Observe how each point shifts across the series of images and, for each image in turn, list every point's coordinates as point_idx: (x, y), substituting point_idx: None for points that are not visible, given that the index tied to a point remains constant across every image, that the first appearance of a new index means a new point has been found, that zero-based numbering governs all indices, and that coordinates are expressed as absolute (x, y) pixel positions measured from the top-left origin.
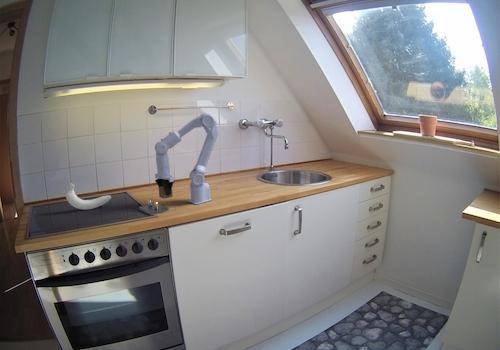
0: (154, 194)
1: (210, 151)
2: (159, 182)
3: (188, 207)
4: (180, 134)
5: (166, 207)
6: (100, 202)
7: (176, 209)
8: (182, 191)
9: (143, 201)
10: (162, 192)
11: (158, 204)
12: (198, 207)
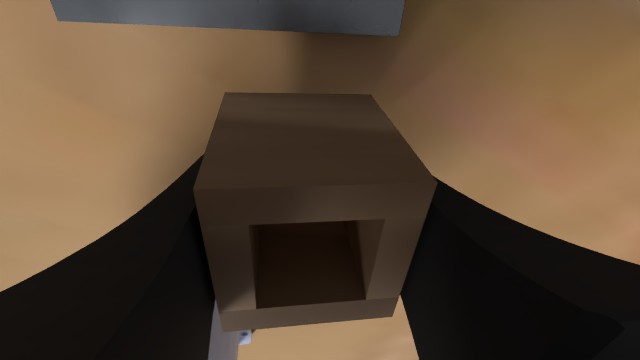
0: (627, 182)
1: None
2: (493, 304)
3: (73, 204)
4: None
5: (103, 17)
6: None
7: (71, 102)
8: None
9: (625, 3)
10: (257, 135)
11: (311, 16)
12: (24, 251)
